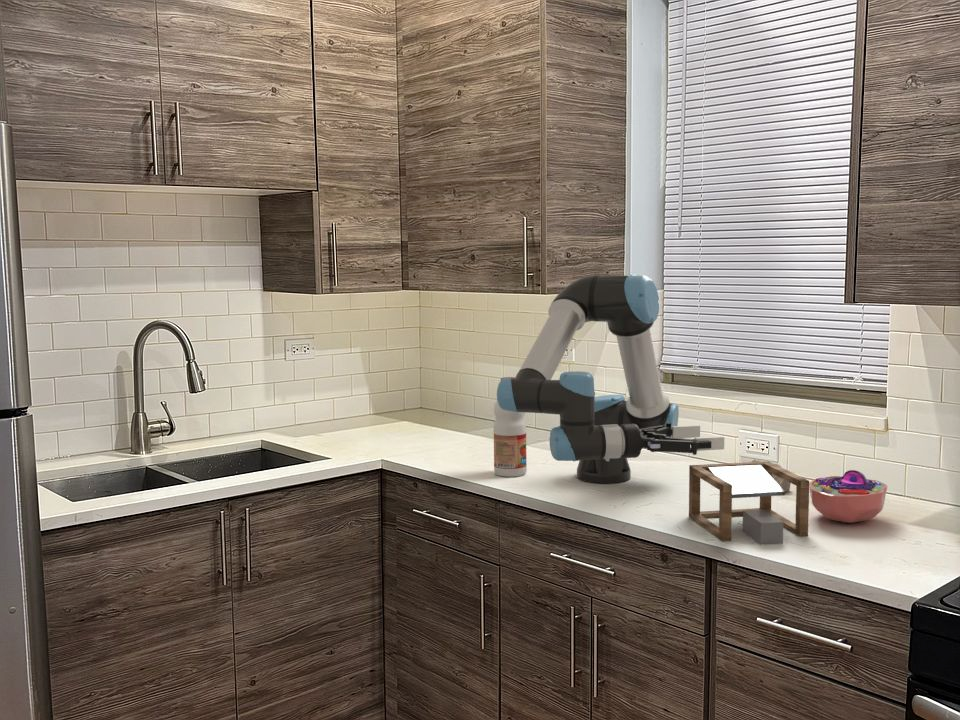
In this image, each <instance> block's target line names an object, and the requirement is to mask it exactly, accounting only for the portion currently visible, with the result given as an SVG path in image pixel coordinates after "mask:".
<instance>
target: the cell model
mask: <svg viewBox="0 0 960 720" xmlns="http://www.w3.org/2000/svg"><path fill="white" fill-rule="evenodd" d="M887 490H888V485H887V484H886V483H885V482H881V481H879V480H875V479H870V478H869V479H868V478H867V477H866V475H865V474H864V473H862V472H860V471H859V470H855V469H850V470H847V471H845V472H844V474H843V475H842V476H838V475H834V476H832V475H831V476H826V477H825V476H824V477H818V478H814V479H813V480H811V481H809V496H810V499H811V504H812V506H813V507H814V508H815V510H816V511H817V512H819V513H820V514H821V515H822V516H823V517H825V518H827V519H829V520H832V521H837V522H842V523H846V524H847V523H848V524H852V523H853V524H854V523H857V522H864V521H868V520H871V519H874V518H876V517H877V515H878V514H880V513H881V512H882V511H883V509H884V506H885V503H886V502H885V500H886V495H887Z"/></svg>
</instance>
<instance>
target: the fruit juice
mask: <svg viewBox="0 0 960 720" xmlns="http://www.w3.org/2000/svg"><path fill="white" fill-rule="evenodd" d="M510 377H512V378H515V377H516V376H506V377H505V376H503V377H501V378H500V381H501V380H502V379H504V378H510ZM493 413H494V416H495V421H494V424H493V471H494V474H495V475H497V476H499V477H504V478H516V477H522V476H524V475H526V473H527V424H526V421H525V414H526V412H514V411H507V410H503V409H502V408H500V406H499V404H498V401H497V400H496V401H495V402H494V406H493Z"/></svg>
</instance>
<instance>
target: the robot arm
mask: <svg viewBox="0 0 960 720" xmlns="http://www.w3.org/2000/svg"><path fill="white" fill-rule="evenodd" d="M659 300H660V297H659V292H658V288H657V286H656V284H655V282H654V281H653V279H652V278H651V277H649V276H647V275H638V274H628V275H609V274H608V275H600V274H599V275H597V274H592V275H586V276H582V277H581V278H578V279H576V280H575V281H572V282H571V283H569V284H568V285H567V286H566V287H565V288H563V289H562V290H561V291H560V292H559V293H558V294H557V295H556V296H555V297H554V299H553V301H552V302H551V304H550V306H549V307H548V318H547V319H546V321H545V322H544V325H543V327H542V329H541V330H540V332H539V334H538V335H537V338H536V339H535V340H534V343H533V344H532V346H531V348H530V350H529V352H528V354H527V356H526V358H525V359H524V361H523V362H522V365H521V366H520V368H519V370H518V372H517V374H516V375H515V376H514V377H515V378H512V377H513V376H509V377H510V378H504V379H502V380H501V379H500V381H499V383H498V385H497V390H496V401H498V404H499V406H500V408H502V409H503V410H507V411H514V412H525V413H534V414H546V415H547V414H548V415H559V426H555V427H552V428H551V430H550V432H549V449H550V453H551V456H552V458H553V459H555V461H560V462H561V461H564V462H567V461H568V462H569V461H570V462H576V461H577V462H578V463H577V468H576V478H577V479H579V480H581V481H584V482H589V483H593V484H594V483H595V484H617V483H623V482H626V481H629V480H630V479H631V476H632V475H631V473H632V472H631V467H630V463H629V461H628V459H633V458H635V459H636V458H638V457H639V456H640V455H641V451H642V449H646V450H647V451H650V452H651V453H654V452H655V453H658V452H660V453H661V452H662V453H663V452H665V453H682V454H683V453H684V454H692V455H693V456H695V455H697V453H698V452H700V451H701V452H702V451H715V450H716V451H720V450H725V436H707V437H705V436H703V437H701V425H699V424H697V425H678V424H679V423H678V422H679V415H680V414H679V413H680V412H679V411H680V410H679V406H678V404H676V403H674V402H671V403H670V399H669V396H668V395H667V393H665V392H664V391H662V386H661V381H660V376H659V371H658V366H657V361H656V360H657V359H656V357H655V349H654V346H653V345H654V343H653V340H652V333H651V329H652V327H653V325H654V323H655V321H656V320H657V319H658V317H659V313H660V303H659ZM590 322H600V323H601V322H603V323H607V326H608V327H607V328H608V331H609V332H610V333H611V334H612V335H614V336H615V337H616V340H617V344H618V348H619V355H620V359H621V363H622V367H623V373H624V376H625V377H624V378H625V382H626V387H627V391H628V396H629V397H628V398H627V400H626V397H625V395H623V394H608V395H607V394H606V395H599V396H596V392H595V380H594V379H595V378H594V375H593V374H592V373H590V372H587V371H579V370H578V371H576V370H575V371H565V372H562V373H560V375H559V379H552V378H553V376H554V374H555V372H556V370H557V369H558V367H559V364H560V362H561V361H562V359H563V357H564V355H565V354H566V351H567V350H568V348H569V345H570V343H571V341H572V339H573V338H574V335H575V334H576V332H577V331H579V330H581V329H582V328H583V327H584V325H585V324H586V323H590Z"/></svg>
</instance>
